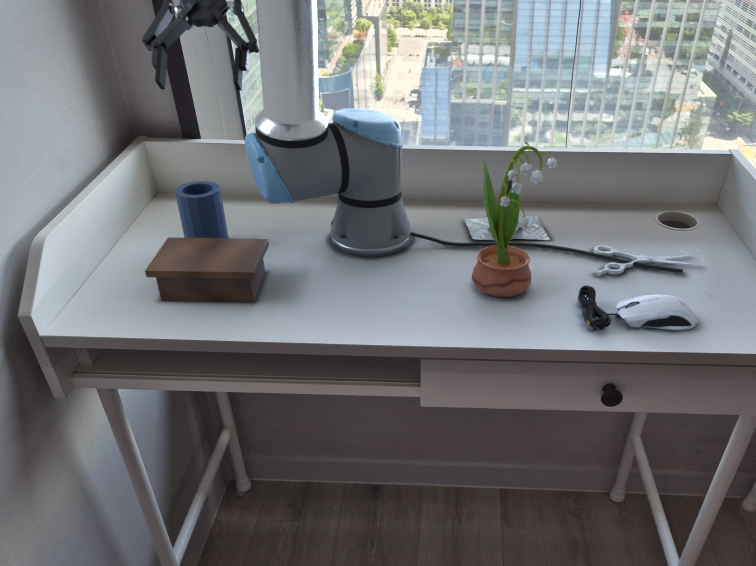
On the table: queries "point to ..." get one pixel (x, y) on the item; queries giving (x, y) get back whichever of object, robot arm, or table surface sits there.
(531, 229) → the flat silver square plate
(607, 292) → the table surface
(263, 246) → the overhanging wooden cap box
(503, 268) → the potted flower
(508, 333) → the table surface
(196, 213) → the jar
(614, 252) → the scissors
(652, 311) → the computer mouse
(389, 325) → the table surface
